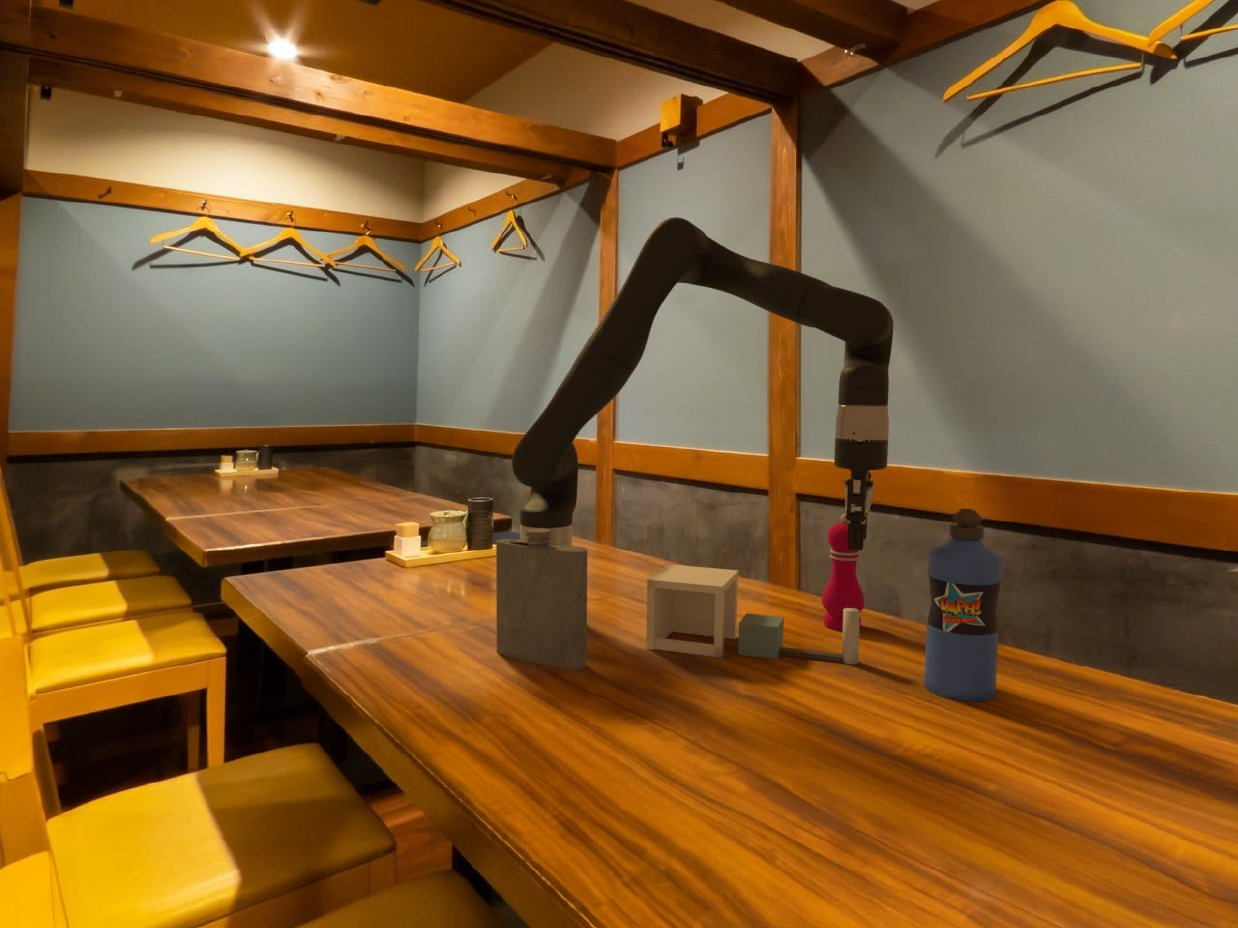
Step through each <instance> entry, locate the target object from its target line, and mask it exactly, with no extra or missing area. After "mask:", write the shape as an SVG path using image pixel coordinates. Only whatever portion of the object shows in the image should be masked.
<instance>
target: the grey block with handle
mask: <svg viewBox="0 0 1238 928" xmlns="http://www.w3.org/2000/svg"><path fill="white" fill-rule="evenodd" d="M860 617H861V612H860V610H858V609H854V608H845V609H843V631H842V639H841V640H842V642H841V653H835V652H828V651H820V650H812V649H811V650H810V649H801V648H794V647H786V646H785V647H784V627H785V626H784V625H785V620H784V618H785V617H784V616H777V615H776V616H775V615H767V614H756V613H749V612H747V613H746V614H744V616H743V617H742V619H740V621H739V623H738V649H737V650H738V651H737V652H738V653H737V654H738V655H739V656H746V657H747V656H749V657H756V658H765V659H770V660H771V659H772V660H773V659H774V660H778V658H779V657H780V656H786V657H793V658H794V657H795V658H800V659H801V658H802V659H809V660H810V659H811V660H818V661H827V662H835V663H842V664H845V665H857V664H858V663H859V650H860V645H859V643H860V629H859V625H860Z"/></svg>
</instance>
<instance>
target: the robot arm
mask: <svg viewBox="0 0 1238 928" xmlns="http://www.w3.org/2000/svg"><path fill="white" fill-rule="evenodd" d="M677 284H687V285H693V286H697V287H704V288H708V289H713V290H716V291H719V292H723V293H725V294H729V295H732V296H735V297H737V298H739V299H742V300H744V301H746V302H748V303H750V304H753V305H754V306H757V307H758V308H760V309H763V310H765V311H767V312H770V313H772V314H774V315H775V316H779V317H781V318H784V319H786V320H789V321H791V322H794V323H796V324H799V325H802V326H805V327H808V328H811V329H812V328H814V329H817V330H819V331H821V332H822V333H826V334H828V335H830V336H831V337H834V338H836V339H839V340H841V341H843V342H844V355H843V356H844V359H843V363H844V364H843V368H842V370H841V371H840V375H839V380H838V381H839V382H838V400H837V401H838V406H837V413H836V417H835V429H834V430H835V431H834V432H835V435H834V437H835V438H834V456H833V458H834V461H833V464H834V467H836V468H838V469H843V470H849V471H850V478H848V479H847V478H846V480H845V481H844V494H845V498H844V508H845V511H846V514H847V515H846V521H847V523H848V539H847V547H848V549H850V550H858V551H862V550H863V549H864V542H865V540H866V539H867V529H868V528H867V527H868V516H869V514H870V509H871V506H872V501H873V493H874V489H875V481H874V480H871V478H872V474H871V471H880V470H885V469H886V468H887V466H888V452H889V430H890V417H889V416H890V415H889V407H888V405H889V388H890V381H889V378H890V376H889V366H890V360H891V356H892V355H891V353H892V348H893V338H894V319H893V315H892V314H891V312H890V310H889V309H888V308H887V307H886V306H885V305H884V304H883V303H882V301H880V300H878V299H875V298H874V297H870V296H868V295H865V294H862V293H858V292H856V291H852V290H848V289H846V288H841V287H839V286H838V287H837V286H833V285H831V284H830V283H827V282H826V281H823V280H821V279H818V278H816V277H813V276H810V275H808V274H805V273H803V272H800V271H797V270H794V269H792V268H787V267H785V266H781V265H777V264H774V263H769V262H765V261H760V260H756V259H753V258H750V257H748V256H744V255H742V254H739V253H738V252H735V251H733V250H731V249H729V248H727V247H726V246H723V245H722V244H720V243H719V242H717V241H716V240H714V239H712V238H711V237H709V236H707V234H706V233H705V232H704V230H702V229H700V228H699V227H697V226H696V225H695V224H694V223H692V222H691V221H689V220H688V219H685V218H682V217H670V218H669V217H668V218H666V219H663V220H662V221H661V222H660V223H658V224H657V225H655V227H653V229H652V230H651V231H650V233H649V234H648V236H647V238H646V239H645V242H644V243H643V245H642V247H641V249H640V251H639V253H638V255H637V257H636V259H635V262H634V263H633V265H632V267H631V269H630V271H629V274H628V275H627V276H626V279H625V281H624V283H623V285H622V287H620V290H619V291H618V293H617V295H616V296H615V297H614V299H613V301H612V302H611V304H610V306H609V307H608V308H607V310H606V312H605V313H604V315H603V317H602V318H601V319H600V321H599V323H598V324H597V326H596V328H594V330H593V332H591V335H590V336H589V337H588V339H587V341H586V343H585V344H584V345H583V347H582V349H580V350H581V351H580V352H579V354H578V355H577V356H576V358H575V360H574V361H573V364H571V367H570V369H569V371H568V372H567V373H566V375H565V377H564V378H563V379H562V380H561V383H560V384H559V387H558V388H557V389H556V391H555V393H554V395H552V398H551V399H550V400H549V403H548V404H547V406H546V407H545V409H543V411H542V412H541V414H540V415H538V417H537V419H536V420H535V421H534V423H533V424H532V425H531V426H530V428H528V430H527V431H526V432H525V434H524V435H523V437H521V439H520V440H519V442H518V443H517V445H515V446H516V447H515V448H514V451H513V454H512V459H511V466H512V472H513V474H514V476H515V478H516V480H517V481H518V482H519V483H521V484H522V485H523V486H527V487H530V494H529V497H528V499H527V500H526V503H525V504H524V505H523V506H522V508H521V509H520V514H519V515H520V516H519V517H520V518H519V519H520V525H519V527H520V528H519V530H520V531H519V532H520V533H519V535H520V537H519V538H520V539H522V540H527V539H529V537H528V536H526V530H528V529H534V528H543V529H549V530H550V536H548V538H549V543H548V545H556V546H566V547H573V514H574V512H575V509H576V506H577V500H578V483H579V481H578V480H579V479H578V478H579V460H578V459H579V458H578V452H577V450H576V449H577V448H576V447H575V445H574V441H575V439H576V438H577V436H578V435H579V433H580V432H581V431H582V429H583V428H584V427H585V426H586V424H587V423H589V422H590V421H591V420H592V419H593V418H594V417H595V416H596V415H598V414H599V412H601V410H603V409H604V408H606V407H607V405H608V404H610V403H611V402H612V400H613V399H614V398H615V397H616V396H617V395H618V394H619V392H620V391H621V390H622V389H623V388H624V387H625V385H626V383H627V382H628V381H629V379H630V377H631V376H632V375H633V373H634V372H635V370H636V368H638V365H639V363H640V361H641V360H642V358H643V356H644V353H645V350H646V347H647V343H648V341H649V337H650V334H651V330H652V327H653V323H654V321H655V318H656V315H657V314H658V311H659V310H660V308H661V306H662V304H663V303H664V301H666V299H667V297H668V296H669V295H670V293H671V292H672V291H673V289H674V287H676V285H677Z"/></svg>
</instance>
